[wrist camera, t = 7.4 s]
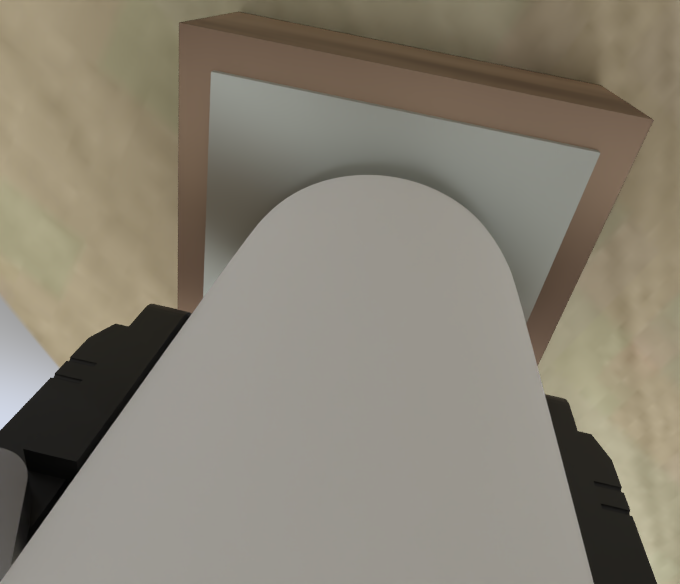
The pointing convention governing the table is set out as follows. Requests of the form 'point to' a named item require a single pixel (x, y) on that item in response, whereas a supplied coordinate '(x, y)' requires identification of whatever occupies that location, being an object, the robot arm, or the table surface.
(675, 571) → the table surface
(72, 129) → the table surface
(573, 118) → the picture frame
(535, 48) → the table surface
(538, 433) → the can
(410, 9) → the table surface
